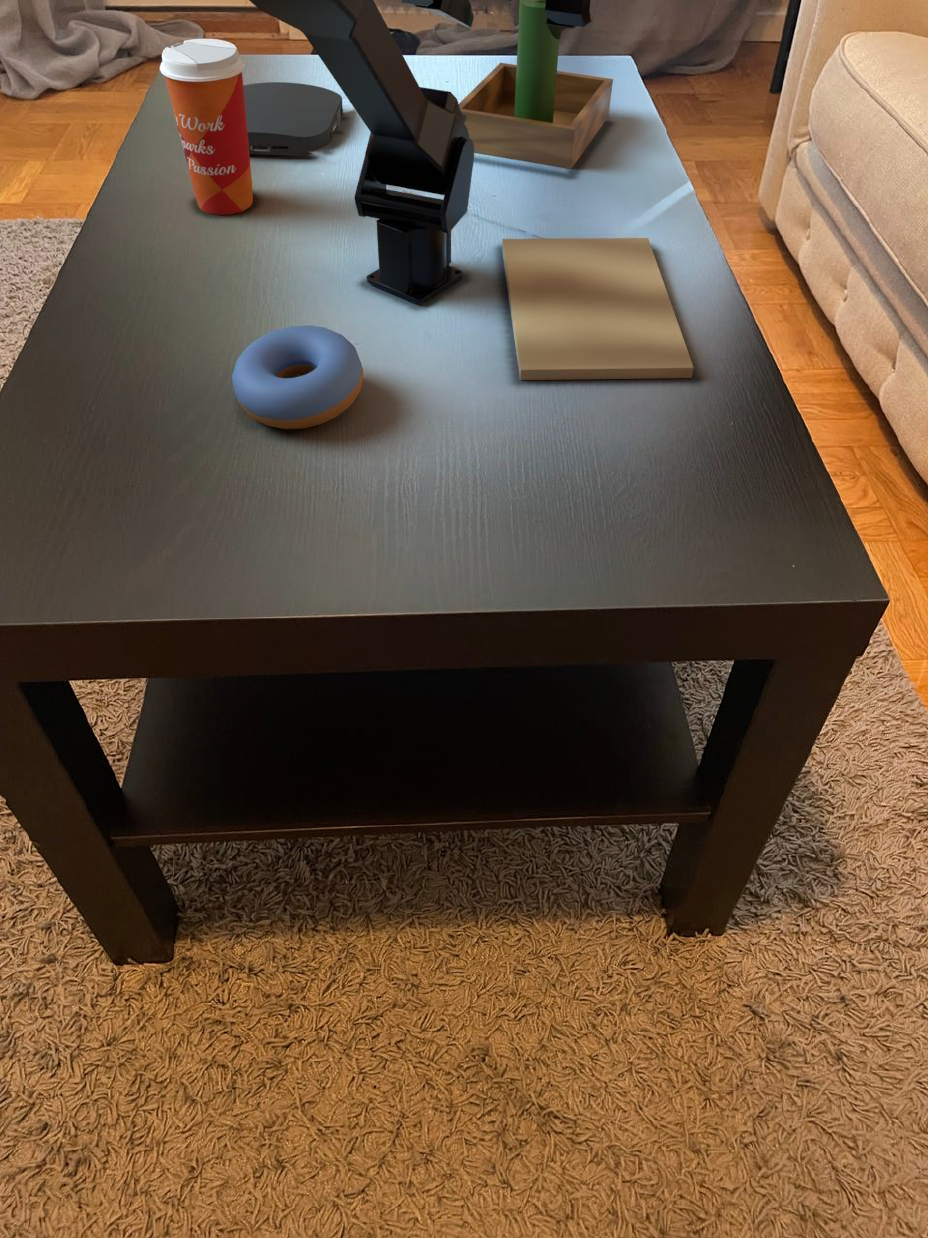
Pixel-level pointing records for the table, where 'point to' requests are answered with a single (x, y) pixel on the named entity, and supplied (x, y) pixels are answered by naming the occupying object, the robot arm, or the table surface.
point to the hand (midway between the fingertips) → (514, 28)
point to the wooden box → (529, 140)
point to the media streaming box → (290, 117)
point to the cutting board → (591, 310)
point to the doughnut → (304, 398)
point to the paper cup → (211, 121)
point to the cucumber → (535, 64)
